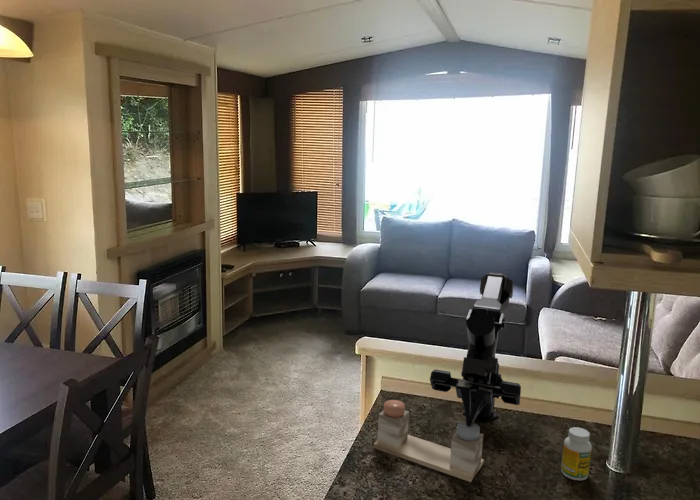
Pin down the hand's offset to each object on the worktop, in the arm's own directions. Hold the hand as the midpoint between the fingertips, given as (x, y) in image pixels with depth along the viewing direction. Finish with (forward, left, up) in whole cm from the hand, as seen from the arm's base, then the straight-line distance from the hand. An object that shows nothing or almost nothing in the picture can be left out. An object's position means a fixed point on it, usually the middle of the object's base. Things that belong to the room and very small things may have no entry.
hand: (468, 425), depth 117 cm
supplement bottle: (-18, +14, -10) cm, 25 cm away
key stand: (+3, -8, -10) cm, 13 cm away
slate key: (0, 0, -4) cm, 4 cm away
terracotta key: (+6, -16, -4) cm, 18 cm away
